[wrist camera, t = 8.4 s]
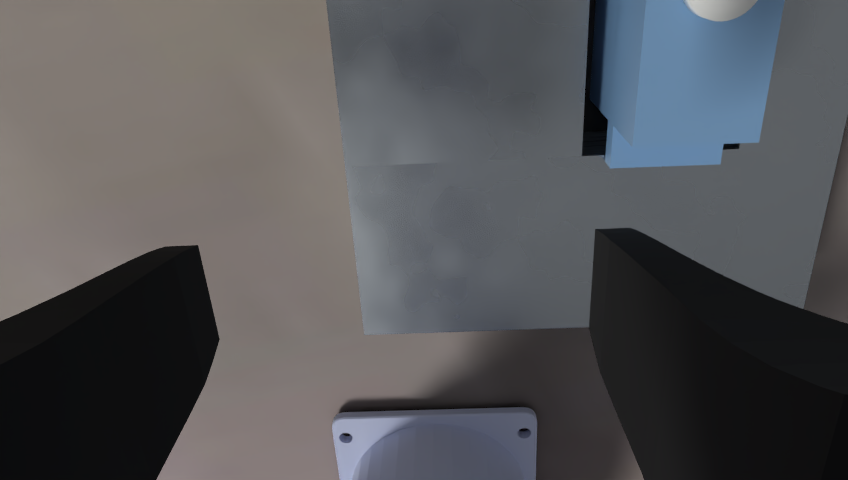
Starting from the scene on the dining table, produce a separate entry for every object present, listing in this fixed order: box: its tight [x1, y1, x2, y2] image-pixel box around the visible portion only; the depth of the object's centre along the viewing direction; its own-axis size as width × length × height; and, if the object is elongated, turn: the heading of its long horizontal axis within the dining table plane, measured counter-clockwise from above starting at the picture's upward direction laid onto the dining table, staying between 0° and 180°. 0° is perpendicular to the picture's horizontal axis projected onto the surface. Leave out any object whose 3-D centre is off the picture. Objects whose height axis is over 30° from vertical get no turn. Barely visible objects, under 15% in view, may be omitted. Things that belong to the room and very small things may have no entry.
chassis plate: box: [326, 0, 848, 335], centre depth 19 cm, size 16×14×2 cm
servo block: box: [589, 0, 785, 168], centre depth 17 cm, size 7×3×6 cm, turn 3°
